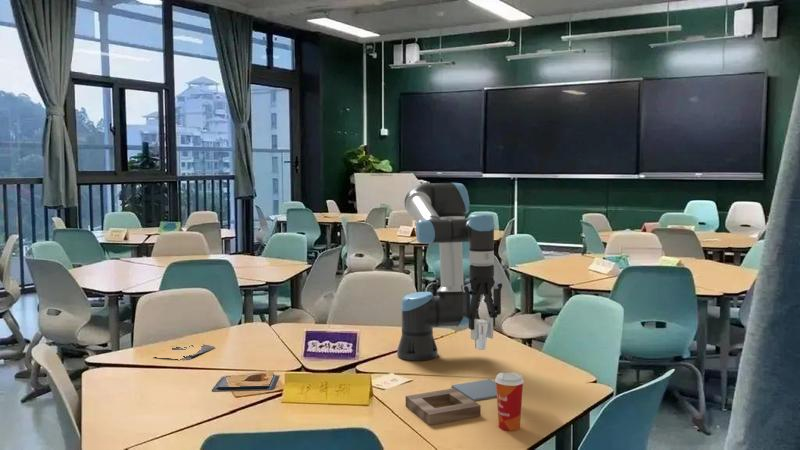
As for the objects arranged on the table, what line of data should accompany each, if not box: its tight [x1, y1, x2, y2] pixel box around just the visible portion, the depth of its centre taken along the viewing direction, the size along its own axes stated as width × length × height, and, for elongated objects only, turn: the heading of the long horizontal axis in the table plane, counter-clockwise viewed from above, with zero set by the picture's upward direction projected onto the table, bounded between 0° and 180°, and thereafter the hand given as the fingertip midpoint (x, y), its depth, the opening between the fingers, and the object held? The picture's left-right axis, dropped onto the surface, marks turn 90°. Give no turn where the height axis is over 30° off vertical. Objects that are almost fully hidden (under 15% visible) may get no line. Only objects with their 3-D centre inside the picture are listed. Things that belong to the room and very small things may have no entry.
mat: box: [451, 378, 497, 402], centre depth 200 cm, size 14×14×1 cm
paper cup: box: [494, 371, 525, 432], centre depth 171 cm, size 8×8×14 cm
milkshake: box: [474, 318, 491, 351], centre depth 198 cm, size 4×5×10 cm
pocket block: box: [405, 387, 482, 426], centre depth 183 cm, size 16×16×3 cm
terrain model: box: [172, 344, 216, 361], centre depth 248 cm, size 20×15×3 cm
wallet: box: [211, 374, 281, 393], centre depth 210 cm, size 20×2×15 cm
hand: (482, 338), depth 199 cm, fingers closed on milkshake, 5 cm apart
